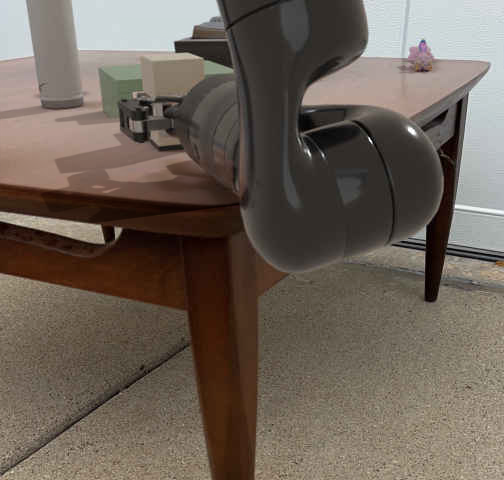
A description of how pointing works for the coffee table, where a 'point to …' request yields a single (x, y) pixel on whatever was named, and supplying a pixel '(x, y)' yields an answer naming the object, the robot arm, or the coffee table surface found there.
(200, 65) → the beige dark-bottomed block
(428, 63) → the rabbit figure
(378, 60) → the coffee table surface
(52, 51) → the travel mug
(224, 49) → the bible
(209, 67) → the shoe shelf
